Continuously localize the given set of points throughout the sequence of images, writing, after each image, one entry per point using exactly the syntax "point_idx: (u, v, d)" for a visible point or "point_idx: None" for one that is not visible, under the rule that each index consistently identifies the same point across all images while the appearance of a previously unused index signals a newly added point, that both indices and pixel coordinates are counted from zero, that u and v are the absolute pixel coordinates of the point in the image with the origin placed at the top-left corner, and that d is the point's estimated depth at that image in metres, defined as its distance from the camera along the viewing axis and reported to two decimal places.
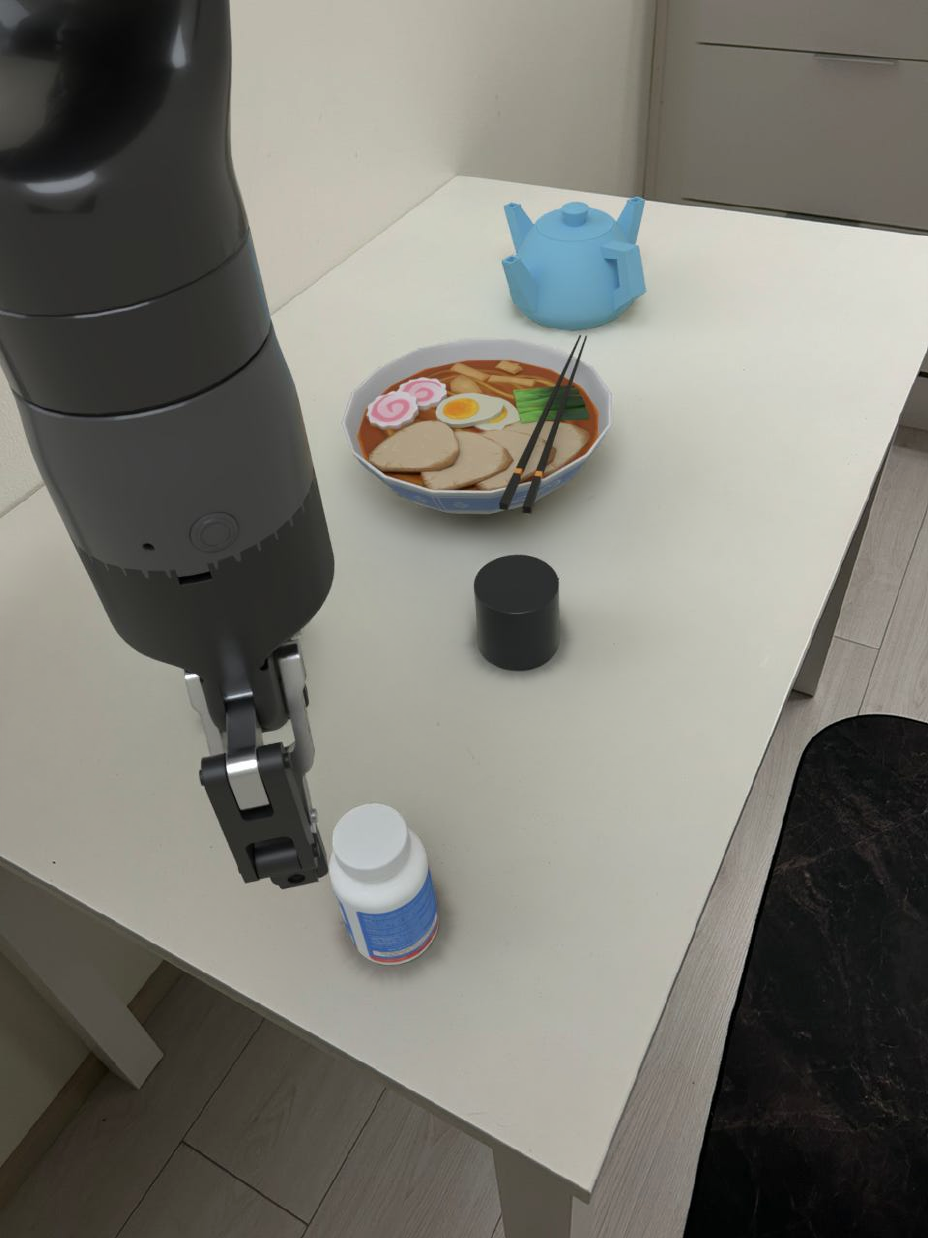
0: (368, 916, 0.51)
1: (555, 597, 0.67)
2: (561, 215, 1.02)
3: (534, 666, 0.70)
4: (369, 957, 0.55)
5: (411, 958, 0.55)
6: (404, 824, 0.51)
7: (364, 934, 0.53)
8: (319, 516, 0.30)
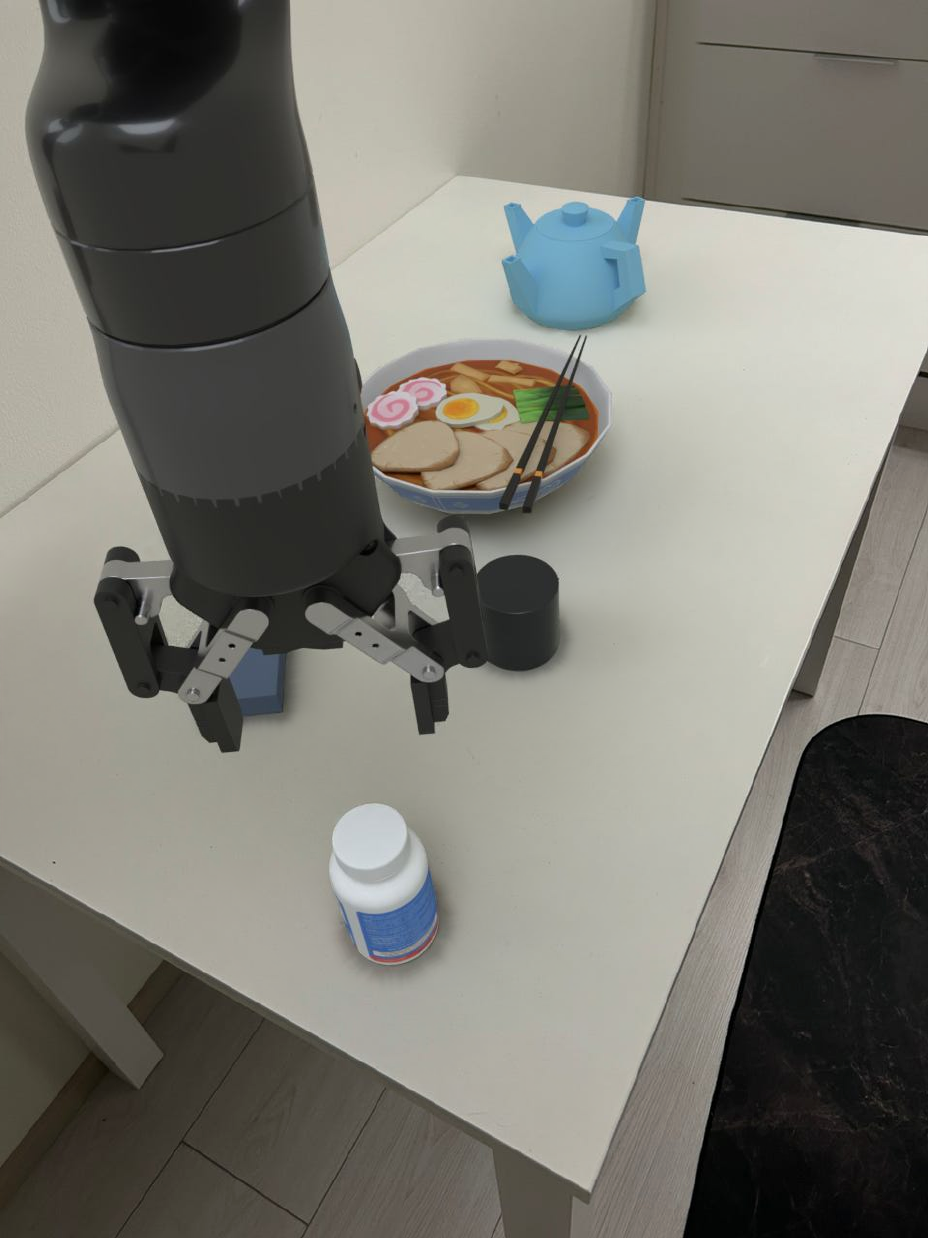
0: (368, 916, 0.51)
1: (555, 597, 0.67)
2: (561, 215, 1.02)
3: (534, 666, 0.70)
4: (369, 957, 0.55)
5: (411, 958, 0.55)
6: (404, 824, 0.51)
7: (364, 934, 0.53)
8: None
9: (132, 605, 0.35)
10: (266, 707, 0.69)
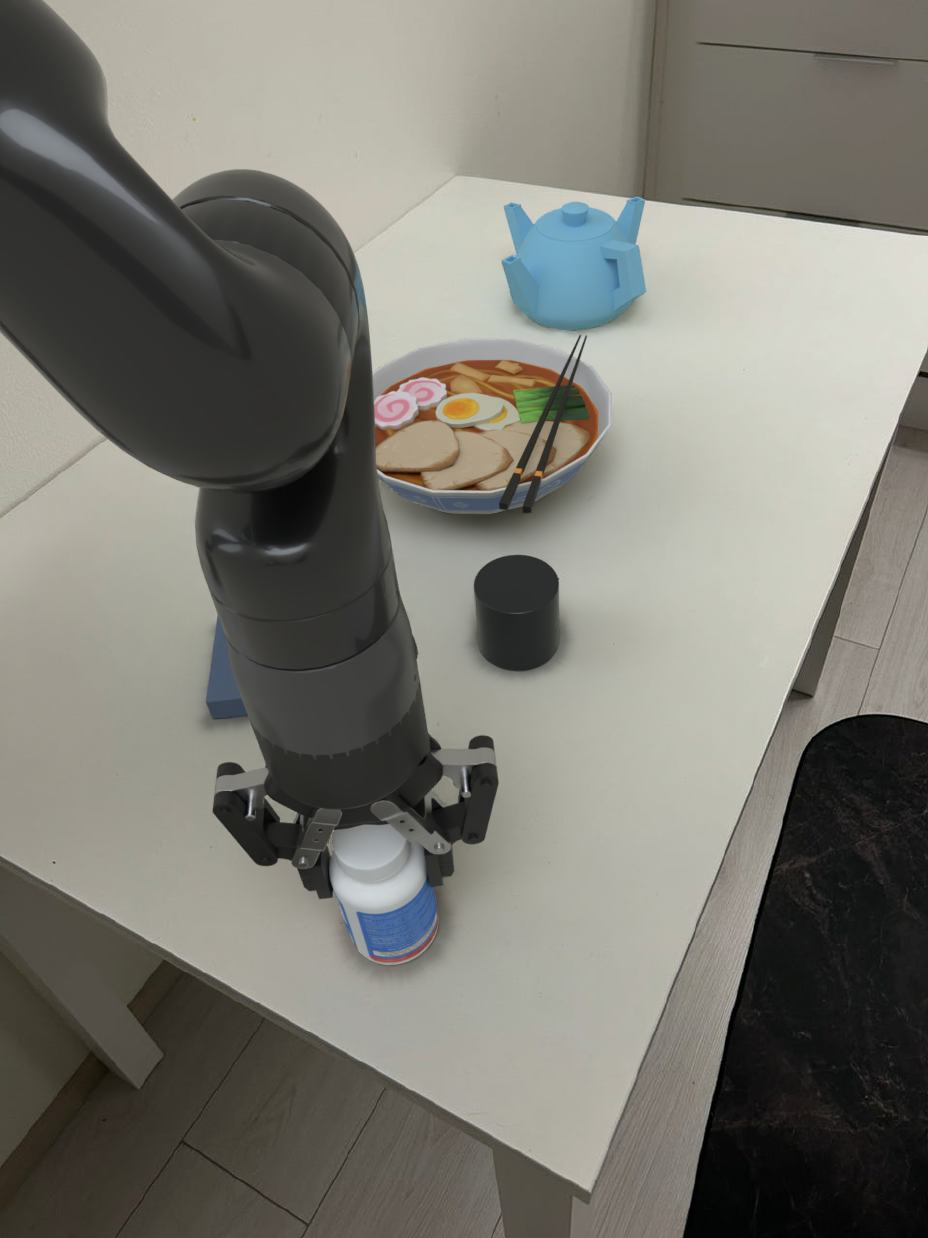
0: (368, 916, 0.51)
1: (555, 597, 0.67)
2: (561, 215, 1.02)
3: (534, 666, 0.70)
4: (369, 957, 0.55)
5: (411, 958, 0.55)
6: None
7: (364, 934, 0.53)
8: None
9: (241, 808, 0.46)
10: None
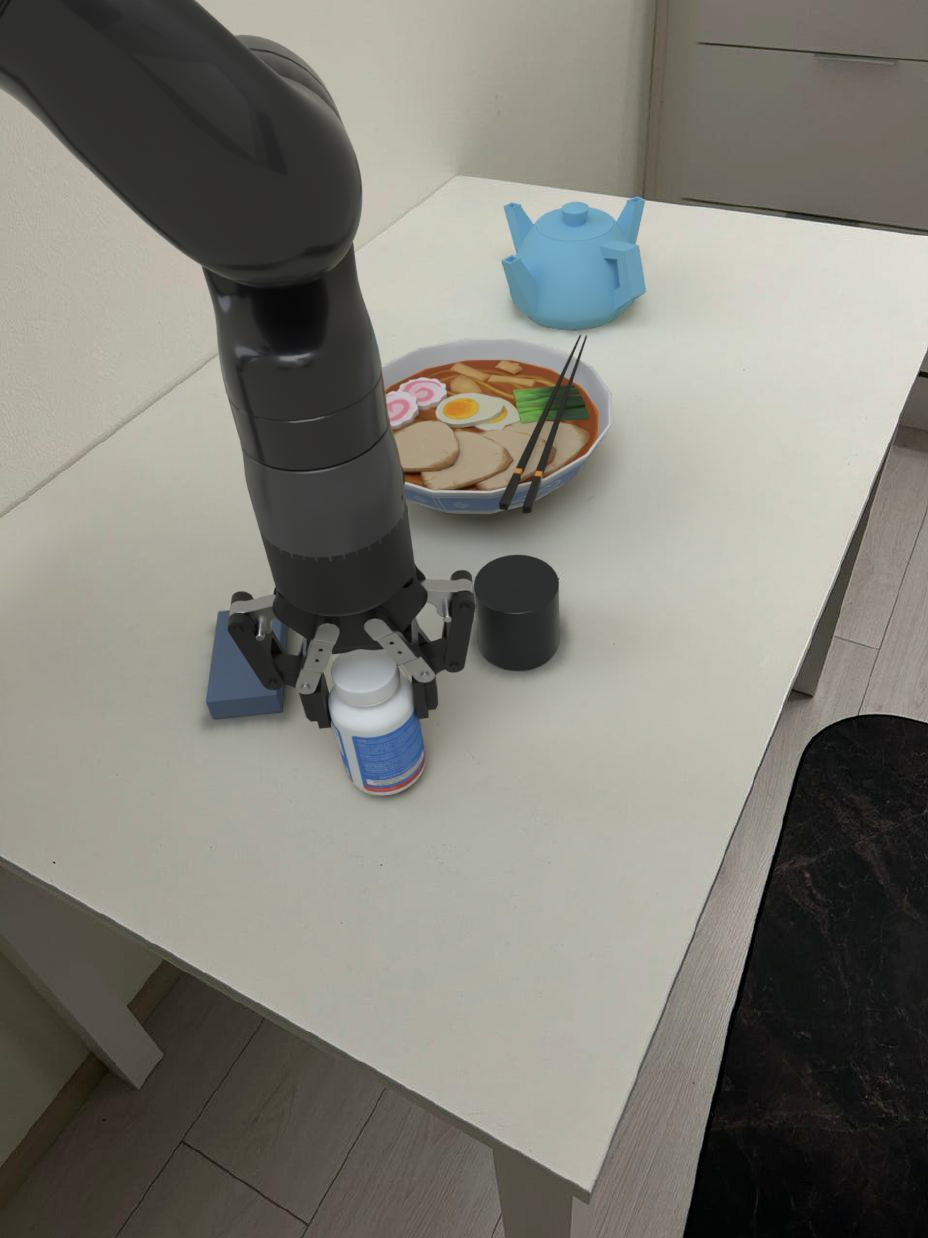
0: (362, 740, 0.58)
1: (555, 597, 0.67)
2: (561, 215, 1.02)
3: (534, 666, 0.70)
4: (363, 788, 0.62)
5: (400, 789, 0.62)
6: None
7: (359, 761, 0.60)
8: None
9: (252, 628, 0.53)
10: (266, 707, 0.69)
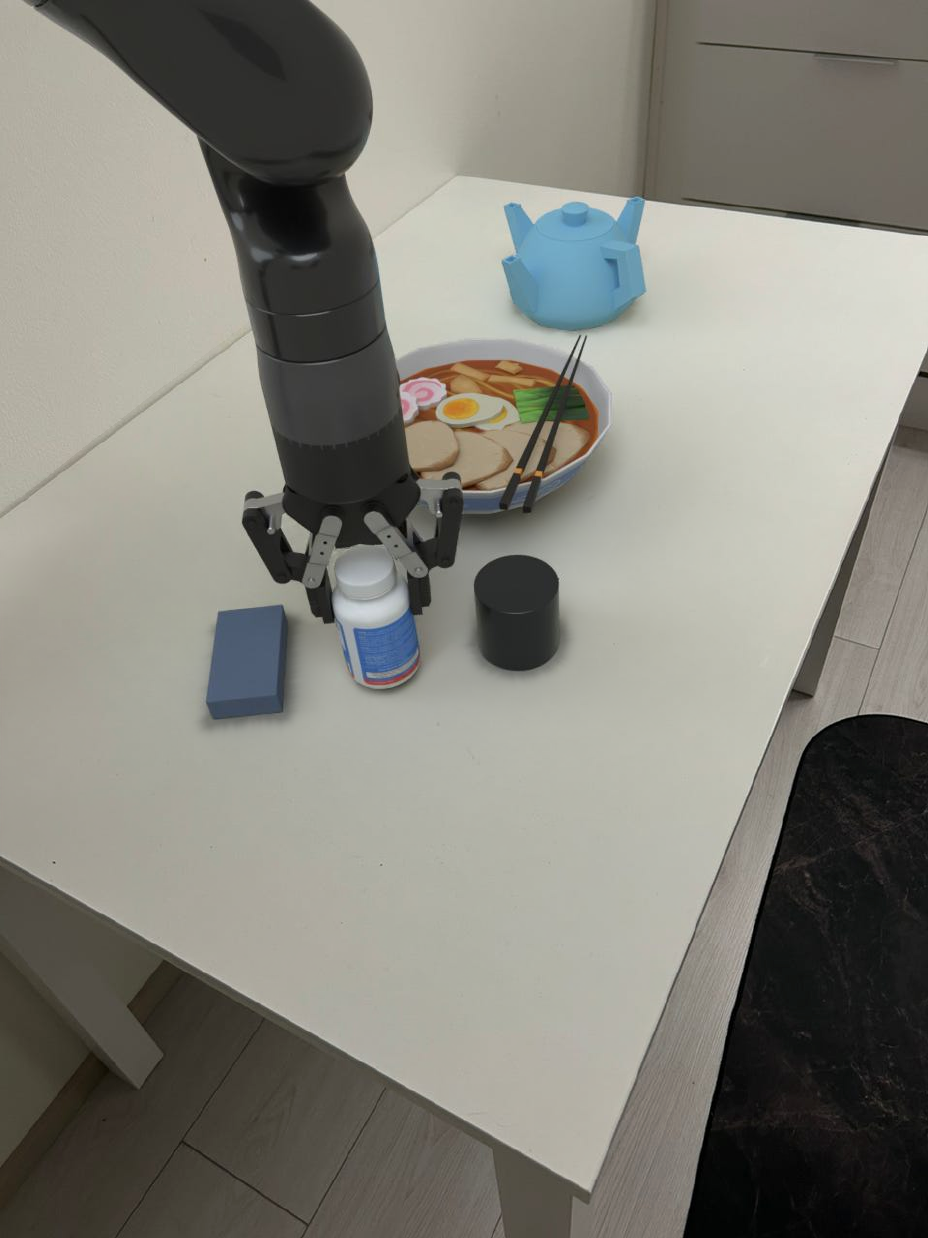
0: (362, 632, 0.65)
1: (555, 597, 0.67)
2: (561, 215, 1.02)
3: (534, 666, 0.70)
4: (363, 681, 0.69)
5: (397, 683, 0.69)
6: (391, 557, 0.64)
7: (359, 653, 0.66)
8: None
9: (264, 523, 0.59)
10: (266, 707, 0.69)
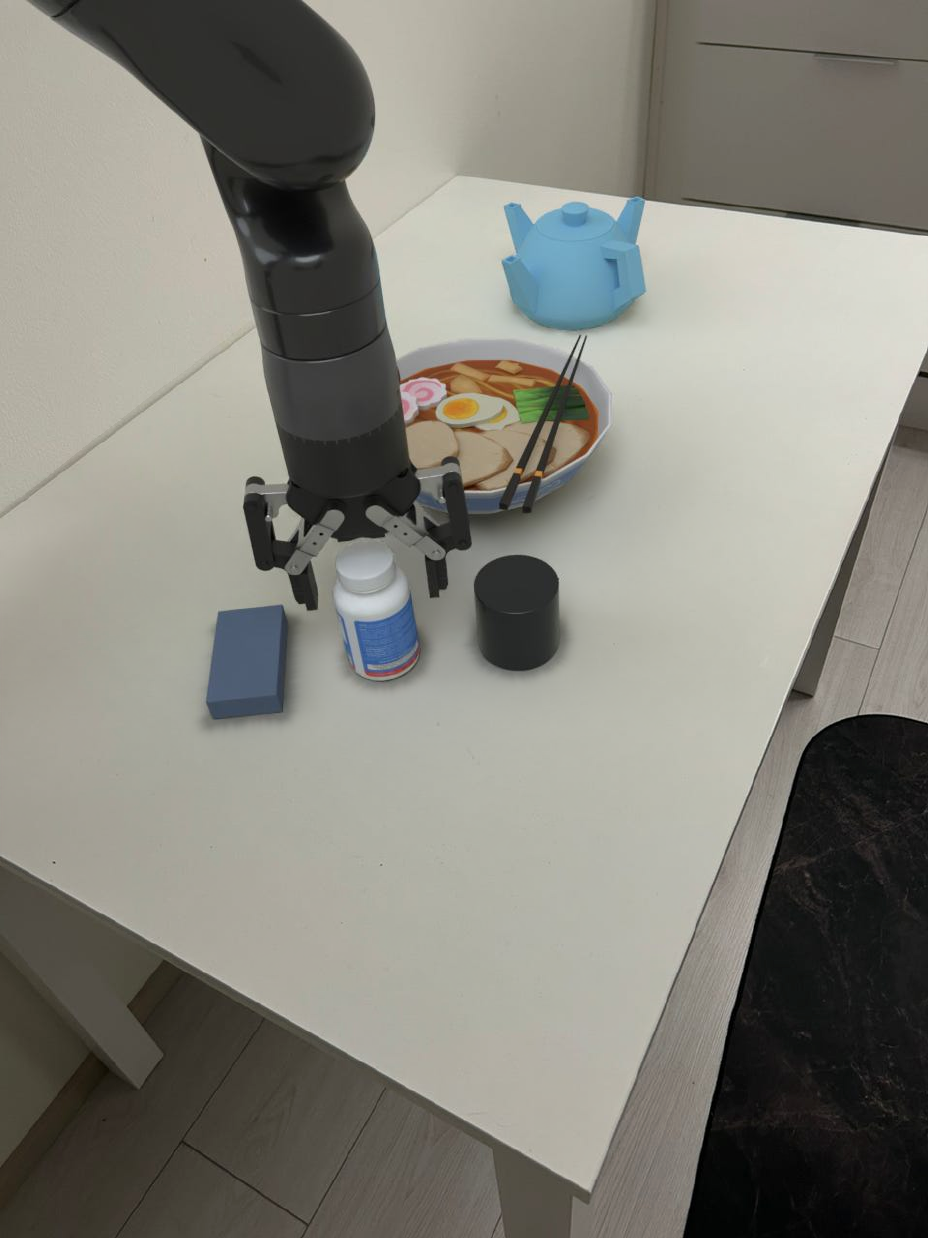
0: (363, 625, 0.66)
1: (555, 597, 0.67)
2: (561, 215, 1.02)
3: (534, 666, 0.70)
4: (364, 673, 0.70)
5: (397, 674, 0.70)
6: (391, 551, 0.66)
7: (360, 646, 0.68)
8: None
9: (264, 509, 0.61)
10: (266, 707, 0.69)
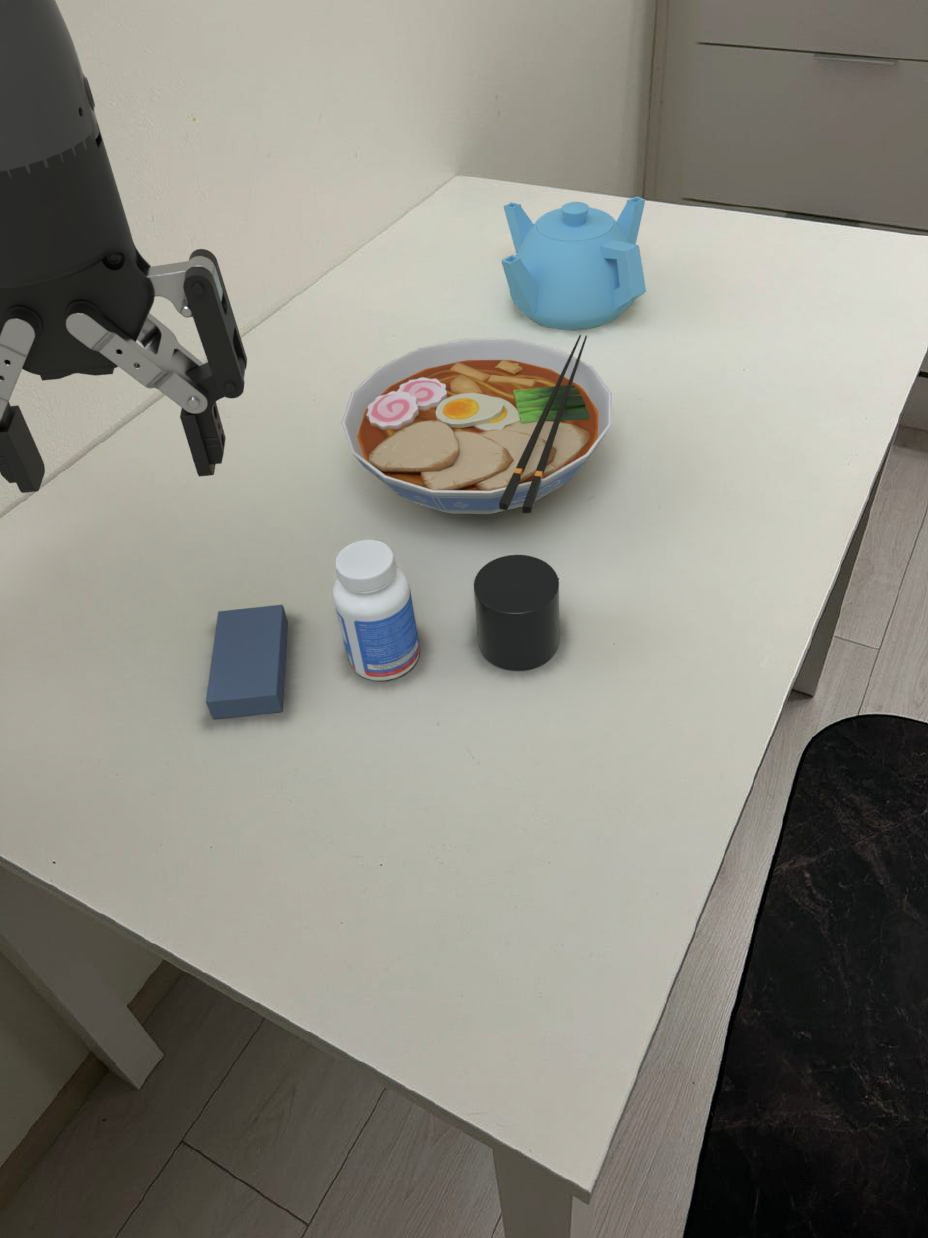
0: (363, 625, 0.66)
1: (555, 597, 0.67)
2: (561, 215, 1.02)
3: (534, 666, 0.70)
4: (364, 673, 0.70)
5: (397, 674, 0.70)
6: (391, 551, 0.66)
7: (360, 646, 0.68)
8: None
9: None
10: (266, 707, 0.69)
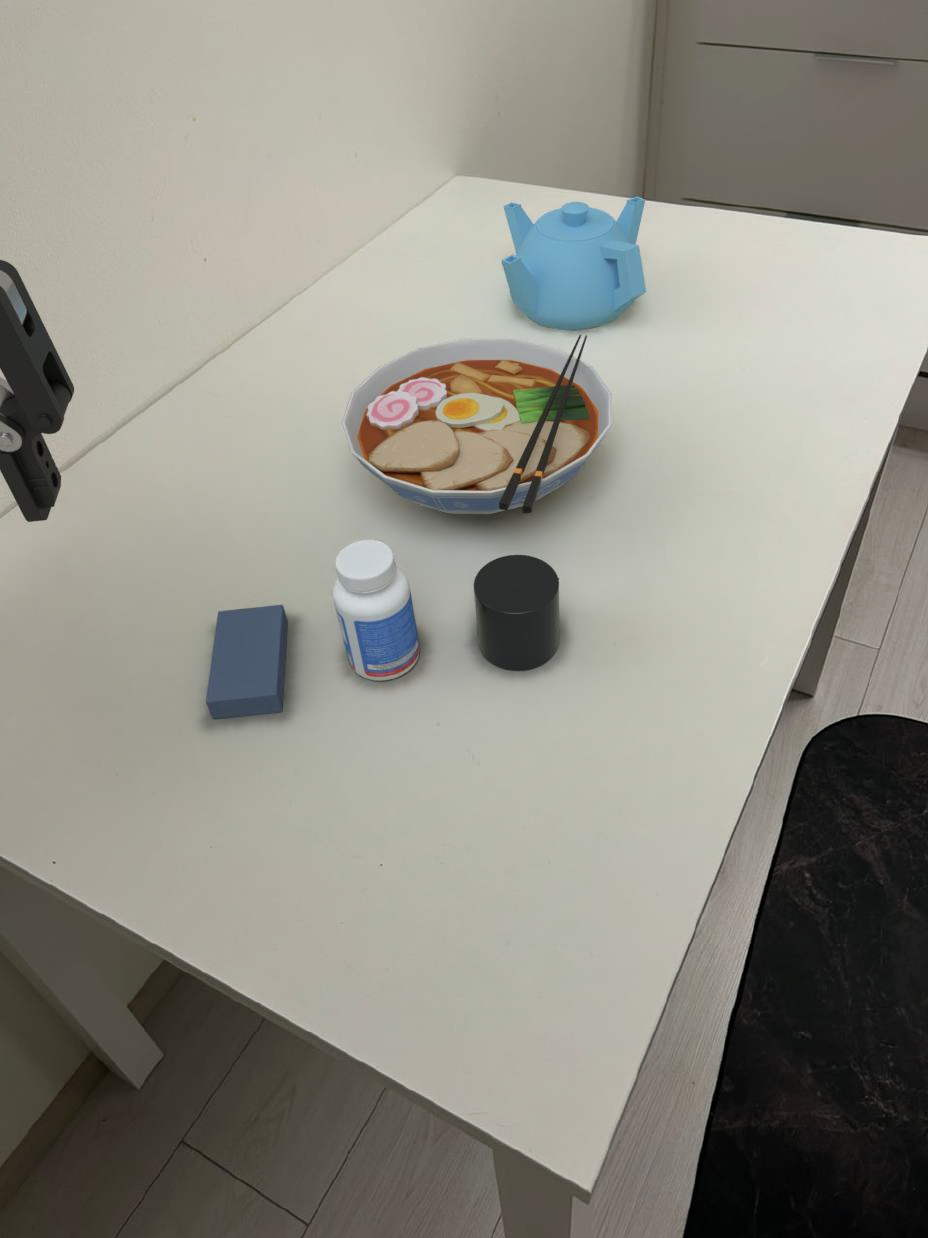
0: (363, 625, 0.66)
1: (555, 597, 0.67)
2: (561, 215, 1.02)
3: (534, 666, 0.70)
4: (364, 673, 0.70)
5: (397, 674, 0.70)
6: (391, 551, 0.66)
7: (360, 646, 0.68)
8: None
9: None
10: (266, 707, 0.69)
